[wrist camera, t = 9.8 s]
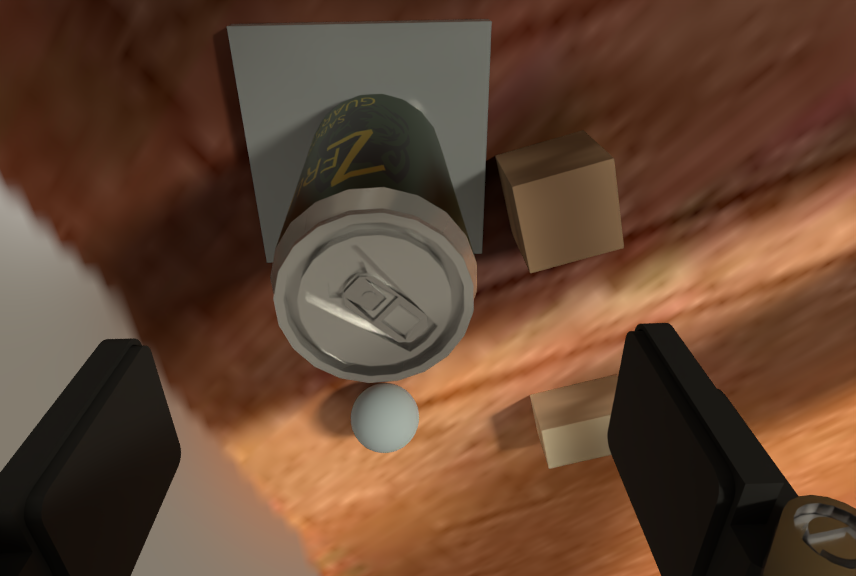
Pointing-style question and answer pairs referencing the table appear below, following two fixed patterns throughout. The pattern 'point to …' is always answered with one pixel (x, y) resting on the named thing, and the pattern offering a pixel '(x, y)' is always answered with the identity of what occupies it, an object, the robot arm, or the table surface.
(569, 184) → the tan cube
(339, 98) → the coaster
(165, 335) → the table surface
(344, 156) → the beer can
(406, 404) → the grey ball
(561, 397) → the beech block
